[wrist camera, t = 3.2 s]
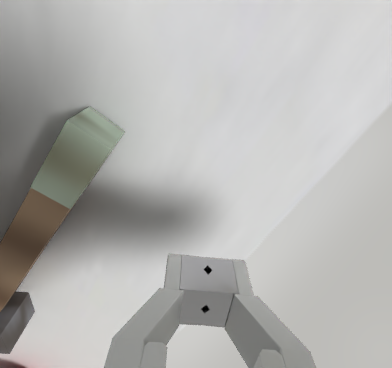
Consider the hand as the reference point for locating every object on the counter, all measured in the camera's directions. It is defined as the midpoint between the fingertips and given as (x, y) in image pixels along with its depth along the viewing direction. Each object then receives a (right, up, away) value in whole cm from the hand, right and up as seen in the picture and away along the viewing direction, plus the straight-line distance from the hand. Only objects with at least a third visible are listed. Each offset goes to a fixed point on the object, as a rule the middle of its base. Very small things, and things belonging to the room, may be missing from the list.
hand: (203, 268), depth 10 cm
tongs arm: (-12, +1, +10) cm, 15 cm away
